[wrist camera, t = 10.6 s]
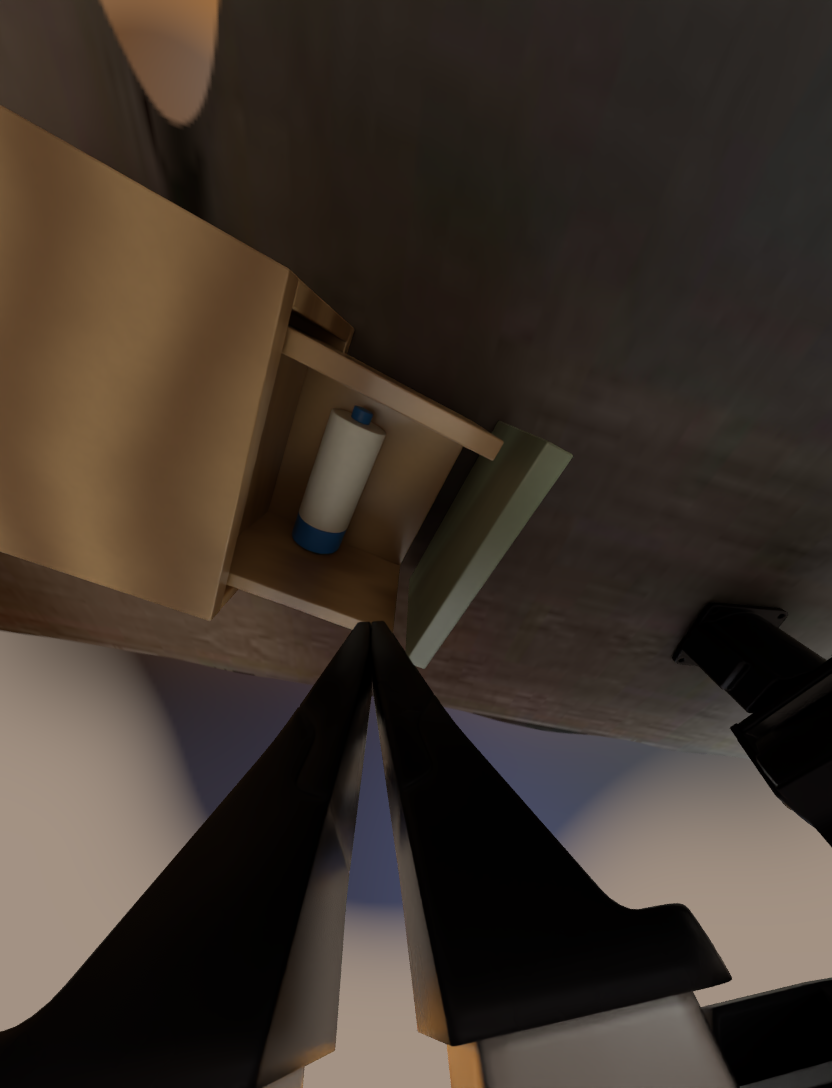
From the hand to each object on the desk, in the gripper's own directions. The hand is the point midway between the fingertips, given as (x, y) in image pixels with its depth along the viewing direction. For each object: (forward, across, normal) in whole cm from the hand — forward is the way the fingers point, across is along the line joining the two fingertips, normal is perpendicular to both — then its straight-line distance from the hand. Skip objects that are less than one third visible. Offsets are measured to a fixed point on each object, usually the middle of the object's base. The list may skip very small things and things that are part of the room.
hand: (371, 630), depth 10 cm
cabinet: (+15, -10, +5) cm, 18 cm away
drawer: (+12, +1, 0) cm, 12 cm away
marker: (+9, -1, +1) cm, 9 cm away
